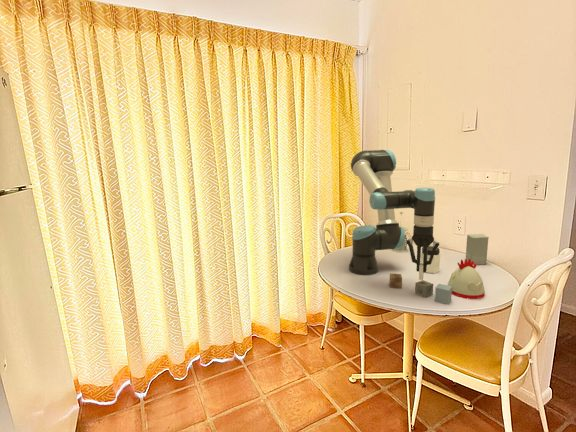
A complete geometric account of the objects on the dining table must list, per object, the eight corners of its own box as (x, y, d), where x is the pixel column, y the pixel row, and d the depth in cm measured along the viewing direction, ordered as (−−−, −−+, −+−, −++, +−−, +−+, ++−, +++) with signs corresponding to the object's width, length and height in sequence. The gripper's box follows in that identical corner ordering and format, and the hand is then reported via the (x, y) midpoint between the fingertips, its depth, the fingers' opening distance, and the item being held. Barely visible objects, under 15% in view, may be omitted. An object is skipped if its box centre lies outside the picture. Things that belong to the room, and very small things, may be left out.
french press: (397, 247, 199) (398, 209, 194) (413, 250, 190) (415, 211, 186) (388, 250, 193) (389, 211, 188) (405, 254, 184) (407, 214, 179)
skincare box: (480, 260, 168) (482, 233, 165) (487, 265, 161) (489, 236, 158) (464, 260, 169) (466, 233, 166) (470, 265, 162) (472, 236, 159)
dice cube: (422, 290, 133) (423, 280, 132) (432, 294, 129) (433, 283, 128) (415, 293, 131) (415, 282, 130) (425, 297, 127) (425, 286, 126)
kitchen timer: (441, 286, 137) (442, 254, 134) (469, 284, 138) (472, 253, 135) (460, 300, 124) (462, 265, 121) (492, 298, 124) (495, 263, 122)
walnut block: (390, 287, 138) (390, 277, 137) (389, 283, 143) (389, 273, 142) (401, 288, 136) (402, 278, 136) (400, 284, 141) (401, 274, 140)
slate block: (434, 301, 123) (435, 287, 122) (438, 296, 127) (438, 283, 126) (448, 304, 120) (449, 290, 119) (451, 300, 124) (452, 286, 123)
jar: (432, 274, 151) (433, 251, 149) (417, 270, 157) (418, 248, 155) (442, 270, 156) (443, 248, 153) (427, 266, 162) (428, 245, 160)
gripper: (405, 225, 125) (403, 279, 129) (440, 228, 119) (437, 284, 123) (408, 222, 132) (406, 273, 136) (441, 224, 125) (438, 278, 129)
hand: (421, 278), depth 129 cm, fingers closed
